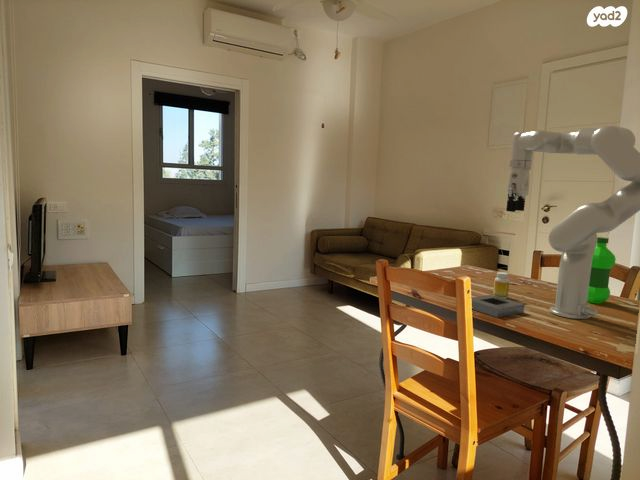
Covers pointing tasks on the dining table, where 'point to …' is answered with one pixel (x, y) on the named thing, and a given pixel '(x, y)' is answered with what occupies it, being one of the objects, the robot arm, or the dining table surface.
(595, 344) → the dining table surface
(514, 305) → the socket
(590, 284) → the plastic bottle
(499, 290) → the supplement bottle
